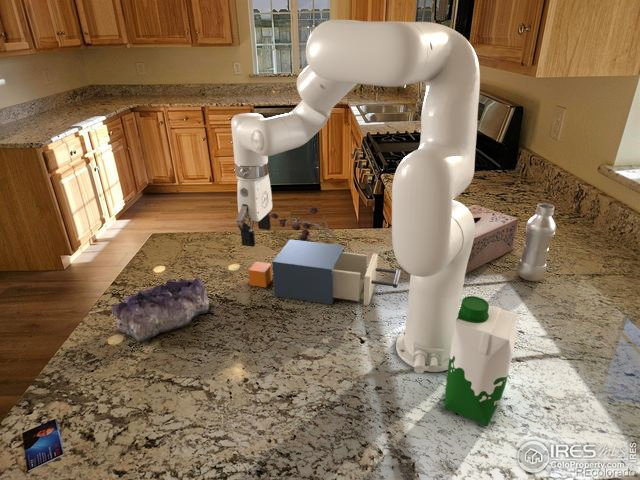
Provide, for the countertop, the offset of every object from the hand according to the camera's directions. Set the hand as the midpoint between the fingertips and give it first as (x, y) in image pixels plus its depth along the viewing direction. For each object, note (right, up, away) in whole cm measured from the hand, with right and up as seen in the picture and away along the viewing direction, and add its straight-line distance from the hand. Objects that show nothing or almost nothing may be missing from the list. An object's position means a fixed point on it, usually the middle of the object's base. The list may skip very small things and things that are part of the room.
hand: (256, 237), depth 105 cm
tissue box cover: (+58, -5, +19) cm, 61 cm away
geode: (-19, -19, -9) cm, 28 cm away
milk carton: (+42, -29, -32) cm, 60 cm away
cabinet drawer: (+25, -13, 0) cm, 28 cm away
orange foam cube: (0, -12, +5) cm, 13 cm away
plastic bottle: (+70, -11, +6) cm, 71 cm away
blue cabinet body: (+13, -13, +3) cm, 18 cm away
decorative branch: (+10, +2, +33) cm, 35 cm away
